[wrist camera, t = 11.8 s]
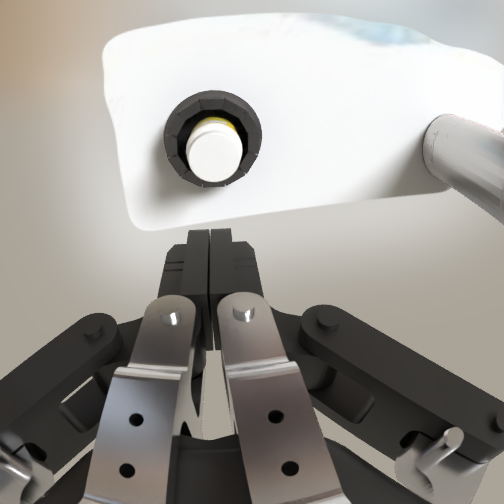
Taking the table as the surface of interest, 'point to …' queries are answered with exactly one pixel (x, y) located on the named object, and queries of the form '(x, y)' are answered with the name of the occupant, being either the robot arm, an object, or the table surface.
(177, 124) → the barrel ring
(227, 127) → the supplement bottle
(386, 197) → the table surface
